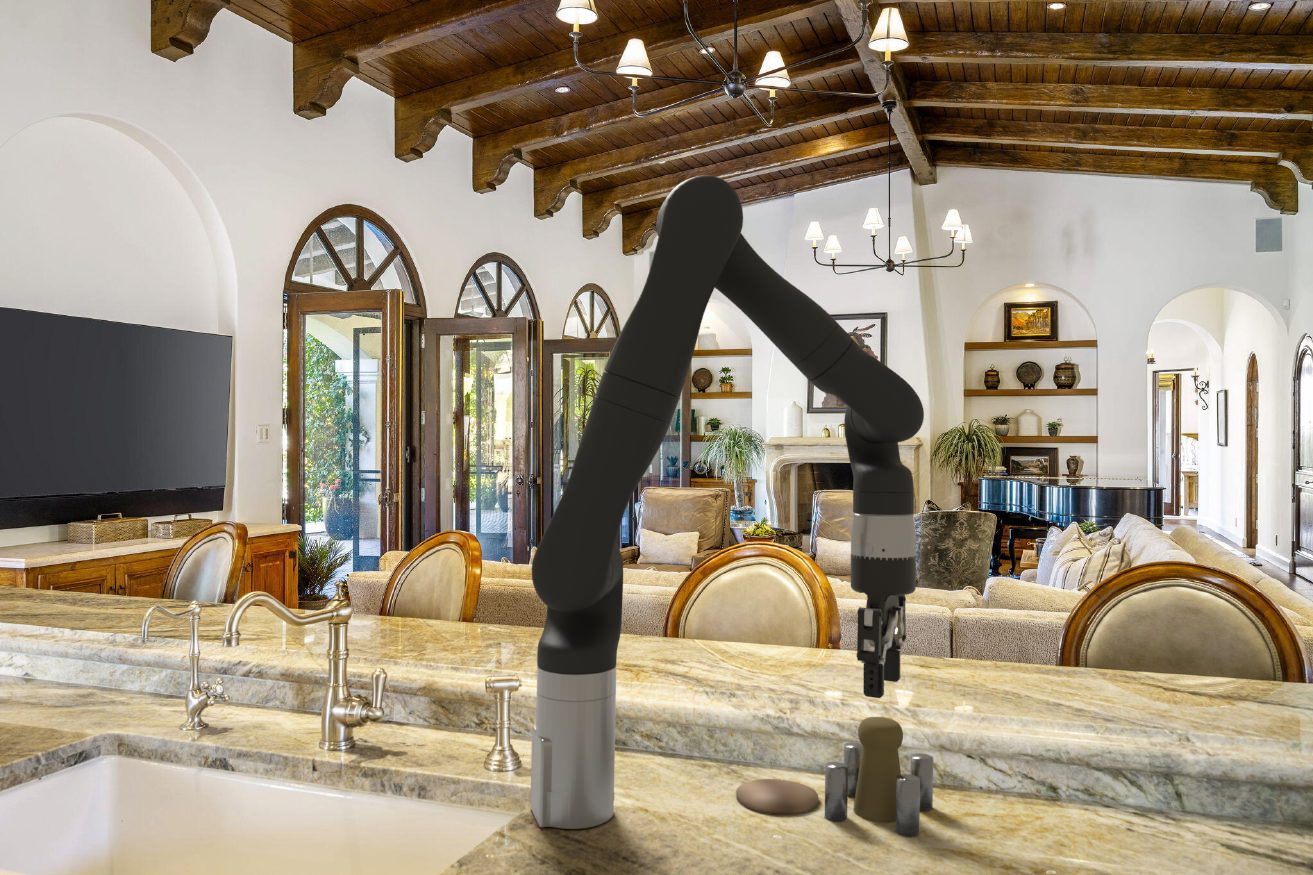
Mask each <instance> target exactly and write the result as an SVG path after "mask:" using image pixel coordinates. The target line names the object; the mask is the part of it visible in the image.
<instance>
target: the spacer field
mask: <svg viewBox="0 0 1313 875" xmlns="http://www.w3.org/2000/svg"><path fill="white" fill-rule="evenodd" d="M862 748H863V745H862V744H861V742H860V743H858V742H845V743H844V746H843V762H841V761H829V762H826V763H825V766H824V768H825V769H824V773H825V775H824V819H827V820H828V821H830V822H835V823H841V822H846V821H847V820H848V806H849V805H848V800H849V799H848V798H853V799H855V795H856V788H857V782H858V775H859V768H860V761H861V755H862ZM933 791H934V757H933V756H932V755H929V754H926V753H919V752H917V753H912V754H911V755H910V774H907V773H901V775H897V776H896V822H895V826H894V828H895V832H896V834H897V835H900V836H903V837H909V838H912V837H918V836H919V835H920V820H921V819H920V816H921V815H920V814H921V813H920V812H930V811H932V810H933V809H934V808H933V806H934V804H933V802H934V801H933V800H934V796H933V794H934V792H933Z"/></svg>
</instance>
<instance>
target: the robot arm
mask: <svg viewBox="0 0 1313 875" xmlns="http://www.w3.org/2000/svg"><path fill="white" fill-rule="evenodd" d="M743 223H744V211H743V206H742V202H741V200H740V197H739V194H737V191H736V190H735V189H734V188H733V186H732V185H731V184H730V183H729V182H728V181H726V180H725V179H724V178H721V177H718V176H715V175H710V174H709V175H707V174H703V175H702V174H701V175H697V176H694V177H690V178H688V179H685V180H684V181H681V182H680V183H678V184H677V185H675V187H674V188H673V189H672V190H671V191H670V192H669V194H668V195H667V196H666V198H665V200H664V201H663V203H662V204H661V206H660V208H659V210H658V214H657V217H656V234H657V237H658V238H657V242H656V246H655V249H654V253H653V257H652V260H651V264H650V268H649V271H648V274H647V277H646V280H645V283H644V287H643V288H642V290H641V293H640V295H639V297H638V299H637V301H636V303H635V305H634V307H633V309H632V311H631V312H630V314H629V316H628V318H627V320H626V322H625V324H624V326H623V327H622V328H621V331H620V333H619V335H618V336H617V340H616V341H615V343H614V345H613V348H612V349H611V352H610V354H609V357H608V359H607V361H606V364H605V367H604V371H603V372H602V375H601V378H600V381H599V383H598V386H597V389H596V390H595V391H596V392H595V395H594V397H593V400H592V404H591V407H590V410H589V414H588V417H587V419H586V422H585V425H584V428H583V432H582V435H581V438H580V441H579V444H578V447H577V451H576V455H575V458H574V461H573V466H572V468H571V471H570V475H569V478H568V481H567V484H566V486H565V489H564V491H563V493H562V495H561V497H560V500H559V502H558V504H557V506H556V508H555V510H554V513H553V514H552V517H551V519H550V521H549V523H548V525H547V527H546V529H545V531H544V534H543V536H542V537H541V540H540V541H539V543H538V545H537V548H536V550H535V553H534V556H533V558H532V563H531V579H532V580H531V581H532V585H533V588H534V590H535V593H536V595H537V596H538V598H539V599H540V601H541V602H542V603H543V604H544V605H545V606H546V607H547V610H546V617H545V623H544V627H543V631H542V634H541V635H540V638H539V640H538V644H537V651H536V652H537V653H536V654H537V656H536V664H537V666H536V671H537V672H536V708H535V711H536V712H535V714H536V715H535V725H534V726H533V727H532V729H531V753H530V754H531V757H530V759H531V760H530V762H531V763H530V766H531V767H530V772H531V773H530V802H529V803H530V809H531V811H532V814H533V816H534V818H535V820H536V823H537V824H538V827H540V828H546V827H549V828H550V827H551V828H557V829H565V830H566V829H567V830H579V829H580V830H581V829H587V828H593V827H596V826H601V825H602V824H604V823H606V822H608V821H610V819H612V817H613V816H614V806H615V805H614V804H615V802H614V801H615V765H616V764H615V761H616V760H615V757H616V756H615V753H616V752H615V751H616V750H615V749H616V709H617V708H616V705H617V704H616V703H617V701H616V700H617V698H616V697H617V696H616V695H617V654H618V648H619V643H620V638H621V632H622V619H623V618H622V615H623V598H624V597H623V596H624V595H623V594H624V561H623V556H622V553H621V550H620V547H619V545H618V543H617V537H618V534H619V531H620V527H621V524H622V521H623V519H624V515H625V512H626V509H627V508H628V505H629V502H630V500H631V498H632V496H633V494H634V492H635V490H636V488H637V487H638V485H639V484H640V482H641V480H642V479H643V477H644V475H645V474H646V472H647V471H648V469H649V468H650V465H651V463H652V462H653V460H654V458H655V457H656V455H657V453H658V451H659V449H660V447H661V445H662V443H663V442H664V439H665V438H666V437H665V436H666V435H667V433H668V431H669V428H670V425H671V422H672V420H673V417H674V414H675V412H676V410H677V406H678V404H679V401H680V397H681V395H682V392H683V388H684V385H685V382H686V379H687V376H688V372H689V371H690V370H689V369H690V366H691V362H692V359H693V355H694V352H695V348H696V346H697V342H698V338H699V334H700V329H701V324H702V323H703V322H702V321H703V318H704V315H705V312H706V309H707V307H708V303H709V301H710V299H711V296H712V295H713V292H714V290H715V289H716V290H717V291H719V293H721V294H722V295H723V296H724V297H725V298H727V299H728V300H729V301H730V302H731V303H732V304H734V305H735V306H736V308H738V309H739V310H740V311H741V312H742V313H743V314H744V315H745V316H746V317H747V318H748V319H749V320H750V321H751V322H752V323H753V325H755V326H756V327H757V328H758V329H759V330H760V331H761V332H762V333H763V334H764V335H765V337H767V338H768V339H769V340H770V342H771V343H772V344H773V345H774V346H775V347H776V348H777V349H778V350H779V351H780V352H781V353H782V354H783V355H784V356H785V358H787V359H788V361H790V363H791V364H793V366H794V367H795V368H796V369H797V370H798V371H800V373H801V374H802V375H803V376H804V377H805V378H806V379H807V380H808V381H809V382H811V384H813V386H815V387H816V388H817V389H818V390H819V391H820V392H822V393H825V394H828V395H831V396H834V397H836V398H838V399H840V400H841V401H842V403H844V404H845V405H846V408H845V412H844V421H843V425H844V426H843V427H844V436H845V443H846V447H847V449H846V450H847V453H848V460H849V463H850V467H851V470H852V475H853V476H852V477H853V484H852V485H853V486H852V522H851V528H850V588H851V589H852V591H853V592H856V593H859V594H865V595H866V597H867V599H866V604H865V607H860V606H859V607H858V610H857V611H856V612H857V613H856V614H857V638H856V640H857V641H856V646H857V647H856V650H857V651H856V659H857V661H859V662H861V664H863V682H862V683H863V695H864V696H865V697H867V698H874V699H881V698H882V697H884V695H885V681H886V682H891V683H892V682H893V683H897V682H899V681H900V680H901V651H902V650H903V647H904V643H905V642H906V640H907V633H906V632H907V630H906V627H907V626H906V624H907V623H906V622H907V621H906V620H907V619H906V601H907V598H906V596H908V595H911V594H913V593H915V591H916V582H917V581H916V579H917V578H916V575H917V574H916V569H917V568H916V566H917V562H916V561H917V560H916V558H917V555H916V553H917V552H916V551H917V550H916V549H917V548H916V546H917V545H916V544H917V543H916V539H917V535H916V526H915V519H914V509H915V508H914V506H915V505H914V499H915V498H914V494H915V493H914V491H915V490H914V479H913V478H914V477H913V473H912V470H911V469H910V468H909V467H907V466H906V465H904V464H903V463H902V461H901V455H900V449H899V443H903V442H905V441H907V440H910V439H912V438H914V436H916V434H918V432H919V431H920V430H921V428H922V426H923V423H924V419H925V411H924V406H923V403H922V400H921V399H920V396H919V395H918V394H917V392H916V391H915V389H914V388H913V387H912V385H910V384H909V383H908V382H907V381H906V380H905V379H904V378H903V377H902V376H901V375H899V374H898V373H896V372H895V371H894V370H893V369H891V368H890V367H888V366H887V365H885V363H883V362H882V361H880V360H879V359H878V358H875V357H874V356H873V355H871V354H870V353H868V352H866V351H865V350H864V349H863V348H862V347H861V346H860V345H859V344H858V343H857V341H856V340H855V339H854V338H853V337H852V336H851V335H850V334H849V333H848V332H847V331H846V330H845V329H844V328H843V327H842V326H841V325H840V324H839V322H837V320H836V319H835V318H833V316H832V315H830V313H829V312H828V311H826V310H825V309H824V308H823V307H822V306H821V305H820V304H819V303H817V302H816V301H815V300H813V299H812V298H811V297H810V296H808V294H806V293H804V292H803V291H802V290H800V289H799V288H797V287H796V286H795V285H793V284H792V283H791V282H789V281H788V280H787V279H785V278H784V277H783V276H782V275H780V274H779V273H778V272H777V271H776V270H775V269H774V268H773V267H771V266H770V265H769V264H768V263H767V262H766V261H765V260H764V259H763V258H762V257H761V256H760V255H759V253H757V251H756V250H754V248H753V247H752V246H751V244H750V243H749V242H748V240H747V239H746V238H745V236H744V235H743V233H742V230H743V226H744V224H743ZM871 647H874V650H870V649H871Z"/></svg>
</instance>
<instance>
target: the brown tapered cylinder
mask: <svg viewBox="0 0 1313 875" xmlns="http://www.w3.org/2000/svg"><path fill="white" fill-rule="evenodd" d="M857 737H858V741H859V742H860V744H862V745H863V748H862V755H861V761H860V768H859V775H858V782H857V788H856V795H855V798H854V804H853V809H852V810H853V813H854V814H855V815H857V816H858V817H860V818H862V819H864V820H867V821H871V822H876V823H882V824H883V823H884V824H885V823H888V824H889V823H896V776H897V775H901V774H902V773H901V770H902V769H901V764H900V755H899V754H900V753H899V749H900V748H901V746H902V744H903V740H904V731H903V727H902V726H901V724H900V723H899V722H898V721H896V720H895V719H892V718H888V717H885V716H884V717H883V716H870V717H866V718H864V719H862V720H861V722H860V723H859V726H858V730H857Z"/></svg>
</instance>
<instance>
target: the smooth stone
mask: <svg viewBox="0 0 1313 875" xmlns="http://www.w3.org/2000/svg"><path fill="white" fill-rule="evenodd" d="M735 797H736V801H737V802H738V803H740V805H742V806H743V807H744V808H747V809H749V810H751V811H754V812H757V813H761V814H766V815H767V814H768V815H777V816H793V815H795V816H796V815H800V814H805V813H808V812H811V811H813V810H814V809H816V808H817V806H818V805H819V794H818V792H817V791H816V790H815V789H813V788H811V787H810V786H808V785H806V784H803V783H801V782H797V781H793V780H788V779H777V778H762V779H754V780H750V781H746V782H744V783H741V784H740V785H739V786H738V787H737V788H736V790H735Z"/></svg>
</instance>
